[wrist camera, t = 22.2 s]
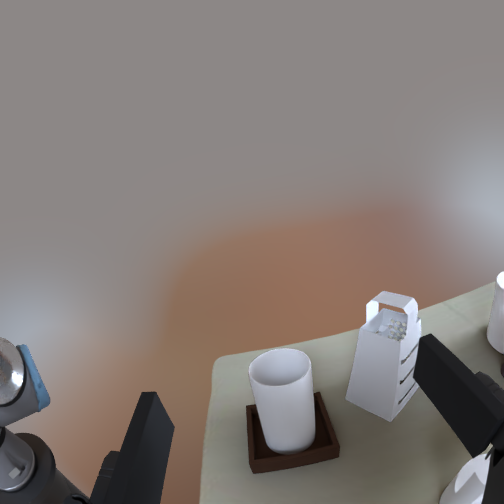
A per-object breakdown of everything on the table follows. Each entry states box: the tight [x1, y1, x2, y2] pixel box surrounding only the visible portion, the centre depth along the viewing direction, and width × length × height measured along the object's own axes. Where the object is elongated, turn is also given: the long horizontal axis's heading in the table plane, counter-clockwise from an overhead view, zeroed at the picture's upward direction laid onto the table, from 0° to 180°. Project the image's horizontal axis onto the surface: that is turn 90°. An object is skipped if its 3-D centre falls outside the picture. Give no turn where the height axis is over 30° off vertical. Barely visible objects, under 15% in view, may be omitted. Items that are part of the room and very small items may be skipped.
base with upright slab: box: [439, 454, 491, 504], centre depth 13 cm, size 9×9×12 cm
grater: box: [345, 291, 421, 422], centre depth 40 cm, size 10×10×20 cm
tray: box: [246, 392, 340, 474], centre depth 38 cm, size 13×13×3 cm
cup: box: [248, 348, 316, 455], centre depth 36 cm, size 8×8×16 cm
